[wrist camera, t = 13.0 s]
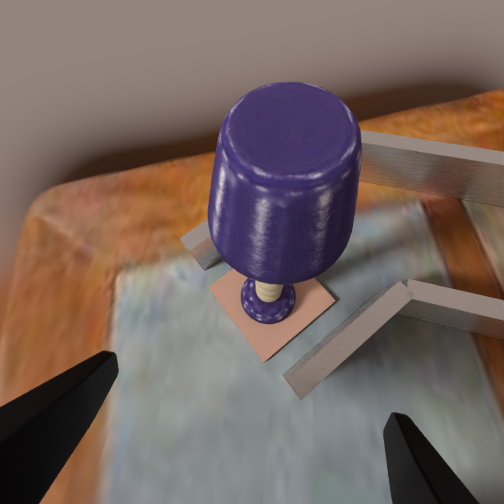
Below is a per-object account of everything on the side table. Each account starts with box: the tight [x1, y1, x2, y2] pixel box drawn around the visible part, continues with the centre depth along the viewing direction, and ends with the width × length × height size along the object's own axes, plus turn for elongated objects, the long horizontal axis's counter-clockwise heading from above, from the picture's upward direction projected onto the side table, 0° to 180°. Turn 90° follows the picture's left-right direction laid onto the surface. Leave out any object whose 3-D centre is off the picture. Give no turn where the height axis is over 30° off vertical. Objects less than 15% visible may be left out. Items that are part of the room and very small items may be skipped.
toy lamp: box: [208, 82, 362, 324], centre depth 13 cm, size 5×5×17 cm
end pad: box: [209, 269, 335, 362], centre depth 21 cm, size 7×7×1 cm
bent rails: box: [180, 130, 504, 400], centre depth 20 cm, size 18×27×4 cm, turn 102°
